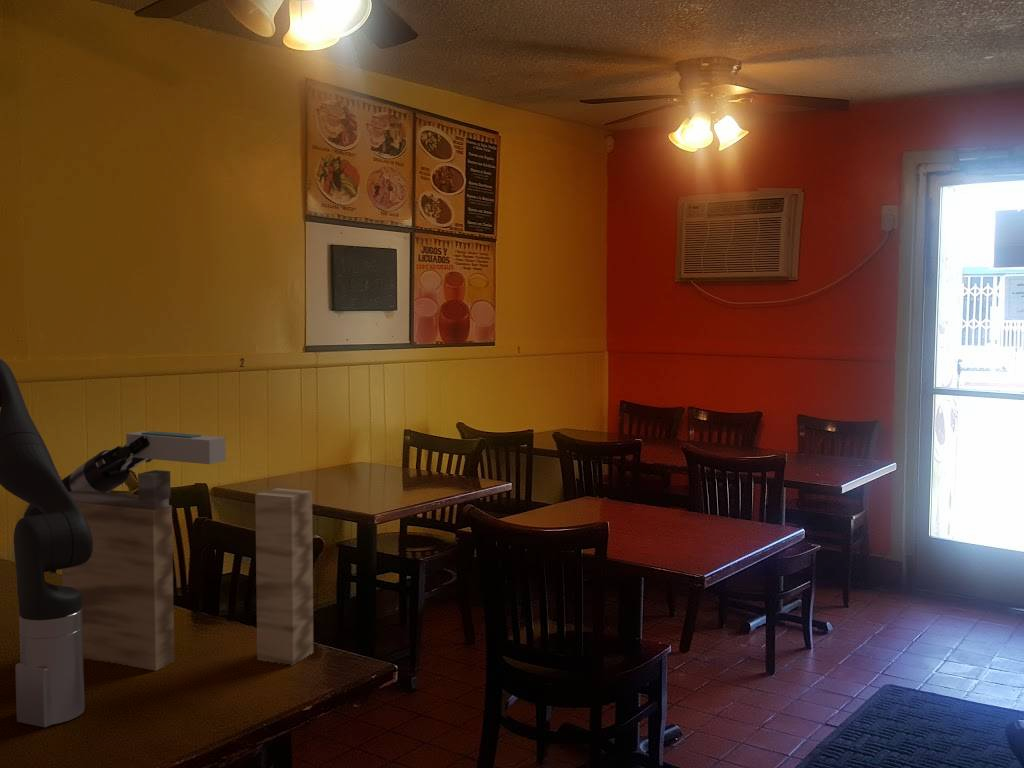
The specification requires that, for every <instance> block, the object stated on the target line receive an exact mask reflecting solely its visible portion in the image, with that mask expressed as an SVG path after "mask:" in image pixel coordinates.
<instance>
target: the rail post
mask: <svg viewBox="0 0 1024 768" xmlns="http://www.w3.org/2000/svg"><path fill="white" fill-rule="evenodd" d="M69 493H70V495H71V496H72V498H73V499H74V501H75V503H76V504H77V506H78V507H79V509H80V510H81V512H82V513H83V515H84V517H85V519H86V521H87V523H88V525H89V528H90V531H91V534H92V539H93V551H92V555H91V557H90V558H89V560H88V561H87V562H85V563H84V564H81V565H78V566H75V567H70V568H65V569H61V578H62V579H61V581H62V582H61V584H62V585H61V586H66V587H71V588H74V589H77V590H78V591H80V593H81V596H82V621H83V660H84V659H85V660H90V659H91V661H96V660H97V662H102V661H105V662H104V663H108V662H110V663H109V664H113V663H117V664H116V665H119V664H122V665H121V666H125V665H128V666H127V667H131V666H132V667H133V668H137V667H138V668H140V669H143V668H144V669H145V670H150V671H158V670H160V669H162V668H165V667H166V666H169V665H170V663H171V664H172V663H174V662H175V619H174V618H175V616H174V614H175V613H174V608H175V607H174V566H173V564H174V563H173V560H174V557H173V556H174V555H173V551H174V550H173V548H174V547H173V506H172V505H171V504H170V499H171V496H172V495H171V494H172V491H171V471H170V470H157V469H155V470H148V471H144V472H143V471H142V472H140V473H138V474H137V493H138V494H129V493H128V494H126V493H117V492H116V493H114V492H109V493H106V492H95V491H84V490H75V491H70V492H69Z"/></svg>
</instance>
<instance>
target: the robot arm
mask: <svg viewBox="0 0 1024 768" xmlns="http://www.w3.org/2000/svg"><path fill="white" fill-rule="evenodd" d="M148 446H149V441H148V439H147V437H146V436H141V437H140V438H138V439H137V440H135V441H134V442H132V443H131V444H130V443H129V444H125V445H124V446H121V445H119V446H116V447H115V448H113V449H105V450H102V451H100V452H99V453H97V454H96V455H95V456H93V457H91V458H90V459H88V460H87V461H86V462H83V464H81V465H80V466H78V467H77V468H76V469H75V470H74V471H73V472H72V473H70V474H68V475H67V476H65V477H64V478H63V479H62V478H61V476H60V474H59V472H58V470H57V468H56V465H55V463H54V461H53V458H52V456H51V454H50V451H49V450H48V447H47V445H46V443H45V442H44V439H43V438H42V436H41V434H40V432H39V429H38V428H37V426H36V424H35V422H34V421H33V419H32V417H31V416H30V413H29V410H28V408H27V404H26V403H25V400H24V397H23V395H22V393H21V390H20V386H19V384H18V382H17V379H16V377H15V375H14V373H13V371H12V369H11V368H10V366H9V364H7V362H5V361H4V360H3V359H1V358H0V486H1V487H2V488H3V489H5V490H6V491H7V492H8V493H11V494H12V495H13V496H15V497H17V498H19V499H20V500H22V501H24V502H26V503H28V504H29V505H28V506H27V508H26V509H25V512H24V514H23V517H22V518H20V519H19V520H18V521H17V522H16V524H15V527H14V532H13V551H14V552H13V553H14V563H15V571H16V572H15V573H16V589H17V600H18V602H17V603H18V614H19V615H18V619H19V648H20V649H19V651H20V652H19V654H20V662H18V663H16V664H15V668H14V670H15V700H16V701H15V702H16V704H15V705H16V706H15V707H16V722H17V723H21V724H26V725H30V726H35V727H40V728H47V727H50V726H52V725H57V724H61V723H64V722H68V721H71V720H73V719H75V718H77V717H79V716H80V715H82V714H83V713H84V712H85V706H86V705H85V675H84V671H85V670H84V669H85V668H84V658H83V621H82V596H81V593H80V591H78V590H77V589H74V588H71V587H66V586H62V585H57V584H53V583H49V582H47V581H46V579H45V573H47V572H51V571H52V572H53V571H58V570H62V569H65V568H70V567H75V566H78V565H81V564H84V563H85V562H87V561H88V560H89V558H90V557H91V555H92V551H93V539H92V534H91V531H90V528H89V525H88V523H87V521H86V519H85V517H84V515H83V513H82V512H81V510H80V509H79V507H78V506H77V504H76V503H75V501H74V499H73V498H72V496H71V495H70V493H69V492H70V491H75V490H84V491H95V492H106V493H111V492H112V491H113V490H115V489H117V488H118V487H119V486H121V485H123V484H124V483H126V482H127V480H128V478H129V476H130V471H131V470H133V469H135V468H137V467H138V465H140V464H141V463H143V462H144V463H151V461H153V460H154V459H145V458H134V456H135V454H137V453H139V452H140V451H142V450H143V449H145V448H146V447H148Z"/></svg>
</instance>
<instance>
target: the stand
mask: <svg viewBox="0 0 1024 768" xmlns="http://www.w3.org/2000/svg"><path fill="white" fill-rule="evenodd" d="M254 498H255V502H254V503H255V504H254V505H255V563H256V564H255V566H256V567H255V574H256V576H255V581H256V590H255V591H256V656H257V657H256V660H257V661H261V660H262V662H267V661H269V663H274V662H278V663H277V664H280V663H284V664H283V665H286V664H290V665H289V666H295V665H296V663H297V662H298V663H300V662H302V661H303V660H305V659H306V658H308V657H309V655H310V654H311V655H313V654H314V561H313V560H314V558H313V557H314V555H313V554H314V552H313V550H314V548H313V547H314V545H313V544H314V543H313V533H314V532H313V530H314V529H313V528H314V527H313V490H304V489H292V488H279V487H276V488H272V489H269V490H265V491H262V492H258V493H255V495H254ZM312 653H313V654H312ZM311 655H310V656H311ZM307 656H308V657H307ZM304 658H305V659H304ZM302 659H303V660H302ZM299 661H300V662H299ZM298 663H297V664H298ZM294 664H295V665H294Z"/></svg>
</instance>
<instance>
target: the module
mask: <svg viewBox="0 0 1024 768" xmlns="http://www.w3.org/2000/svg"><path fill="white" fill-rule="evenodd" d="M125 436H126V438H125V439H126V441H125V442H126V444H129V443H130V444H131V443H132V442H134V441H135V440H137V439H138V438H140V437H141V436H146V437H147V439H148V441H149V446H148V447H146V448H145V449H143V450H142V451H140V452H139V453H137V454H135V456H134V458H145V459H153V460H159V461H169V462H179V463H180V462H181V463H190V464H201V465H202V464H203V465H212V464H217V463H222V462H226V459H227V458H226V449H227V448H226V437H222V436H210V435H207V436H206V435H202V434H194V433H183V432H182V433H180V432H170V431H169V432H165V431H155V430H150V431H147V430H146V431H142V430H141V431H137V432H136V431H135V432H130V433H126V434H125ZM126 444H125V445H126Z"/></svg>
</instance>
